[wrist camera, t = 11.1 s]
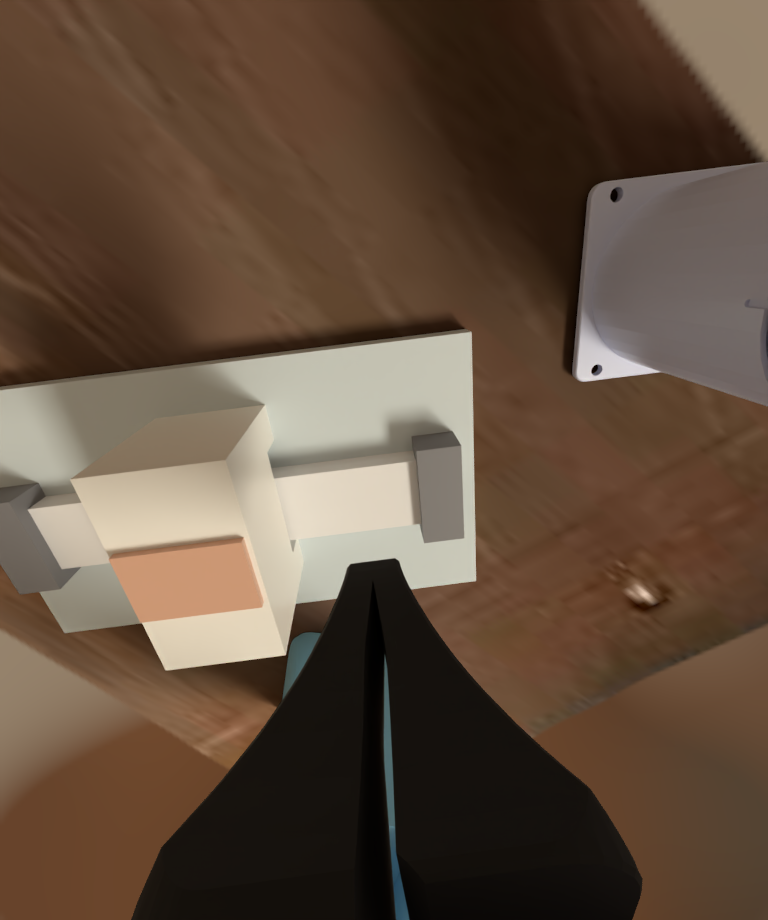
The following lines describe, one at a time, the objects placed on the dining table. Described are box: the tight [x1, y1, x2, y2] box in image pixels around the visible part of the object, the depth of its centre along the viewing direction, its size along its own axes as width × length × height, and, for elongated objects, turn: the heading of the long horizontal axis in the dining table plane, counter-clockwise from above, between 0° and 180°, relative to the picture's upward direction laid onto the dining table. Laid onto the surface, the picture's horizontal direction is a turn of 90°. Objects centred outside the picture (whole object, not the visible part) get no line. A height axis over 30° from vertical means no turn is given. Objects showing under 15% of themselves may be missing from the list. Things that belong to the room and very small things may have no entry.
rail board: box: [0, 329, 476, 633], centre depth 20 cm, size 24×14×3 cm, turn 97°
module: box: [70, 405, 304, 671], centre depth 17 cm, size 5×9×6 cm, turn 6°
